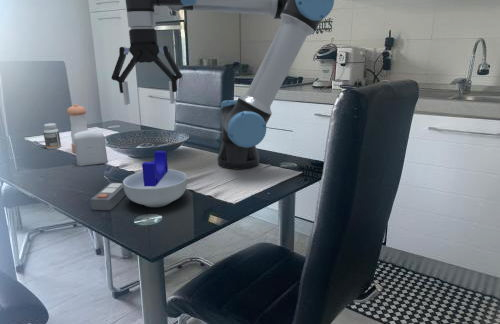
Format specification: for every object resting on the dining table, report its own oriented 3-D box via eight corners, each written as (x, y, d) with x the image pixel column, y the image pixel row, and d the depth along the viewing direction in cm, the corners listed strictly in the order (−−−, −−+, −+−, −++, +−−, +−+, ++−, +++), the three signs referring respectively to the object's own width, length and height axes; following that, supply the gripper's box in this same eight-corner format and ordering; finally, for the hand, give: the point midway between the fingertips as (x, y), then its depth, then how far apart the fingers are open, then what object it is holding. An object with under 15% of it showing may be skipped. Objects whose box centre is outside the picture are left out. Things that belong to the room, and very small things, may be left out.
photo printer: (76, 167, 135) (72, 133, 131) (77, 163, 139) (72, 130, 135) (107, 164, 138) (103, 130, 134) (107, 160, 142) (103, 128, 138)
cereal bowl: (191, 190, 114) (190, 167, 112) (184, 213, 98) (182, 188, 96) (134, 190, 113) (132, 168, 111) (117, 214, 97) (114, 189, 95)
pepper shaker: (74, 154, 150) (67, 106, 144) (71, 150, 155) (64, 103, 150) (93, 151, 153) (87, 104, 148) (89, 147, 159) (83, 102, 153)
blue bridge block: (152, 171, 109) (150, 150, 107) (167, 171, 109) (166, 151, 107) (138, 186, 97) (136, 163, 96) (155, 186, 97) (153, 164, 95)
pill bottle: (51, 145, 163) (47, 122, 160) (64, 145, 162) (60, 123, 159) (43, 149, 158) (39, 125, 155) (55, 149, 157) (51, 125, 154)
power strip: (131, 189, 114) (130, 178, 113) (110, 210, 100) (109, 198, 99) (115, 189, 114) (113, 178, 113) (92, 209, 100) (90, 197, 99)
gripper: (188, 28, 111) (193, 100, 117) (103, 29, 111) (112, 102, 117) (184, 27, 104) (189, 104, 110) (93, 29, 104) (103, 106, 110)
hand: (150, 103), depth 114 cm, fingers open, 13 cm apart
